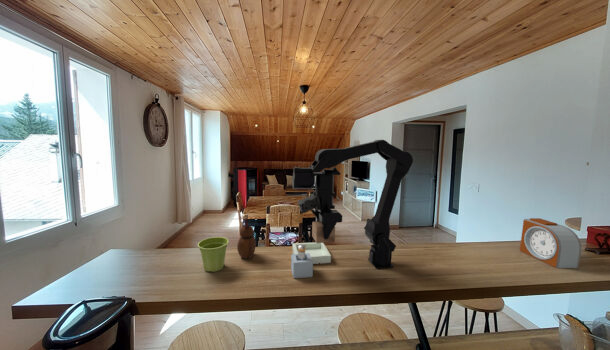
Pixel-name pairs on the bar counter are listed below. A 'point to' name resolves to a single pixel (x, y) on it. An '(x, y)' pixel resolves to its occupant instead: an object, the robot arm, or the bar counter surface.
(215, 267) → the plant pot
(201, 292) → the bar counter surface
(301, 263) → the bored block
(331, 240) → the walnut block
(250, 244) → the wooden figurine
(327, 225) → the robot arm
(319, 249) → the tray
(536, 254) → the alarm clock
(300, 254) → the cylinder
